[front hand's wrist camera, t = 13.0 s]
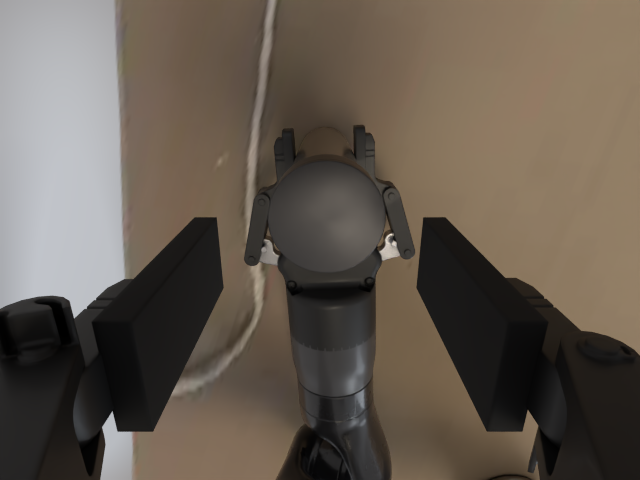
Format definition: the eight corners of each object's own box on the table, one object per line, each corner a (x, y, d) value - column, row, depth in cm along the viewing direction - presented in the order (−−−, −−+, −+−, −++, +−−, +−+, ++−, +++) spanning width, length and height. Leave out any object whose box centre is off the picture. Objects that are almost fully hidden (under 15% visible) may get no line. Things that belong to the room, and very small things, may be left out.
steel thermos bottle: (303, 123, 35) (281, 159, 17) (353, 130, 35) (386, 173, 17) (297, 174, 36) (271, 256, 18) (345, 180, 36) (367, 268, 19)
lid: (277, 146, 18) (273, 152, 16) (389, 162, 18) (396, 169, 16) (267, 250, 20) (262, 265, 18) (369, 263, 20) (373, 279, 18)
